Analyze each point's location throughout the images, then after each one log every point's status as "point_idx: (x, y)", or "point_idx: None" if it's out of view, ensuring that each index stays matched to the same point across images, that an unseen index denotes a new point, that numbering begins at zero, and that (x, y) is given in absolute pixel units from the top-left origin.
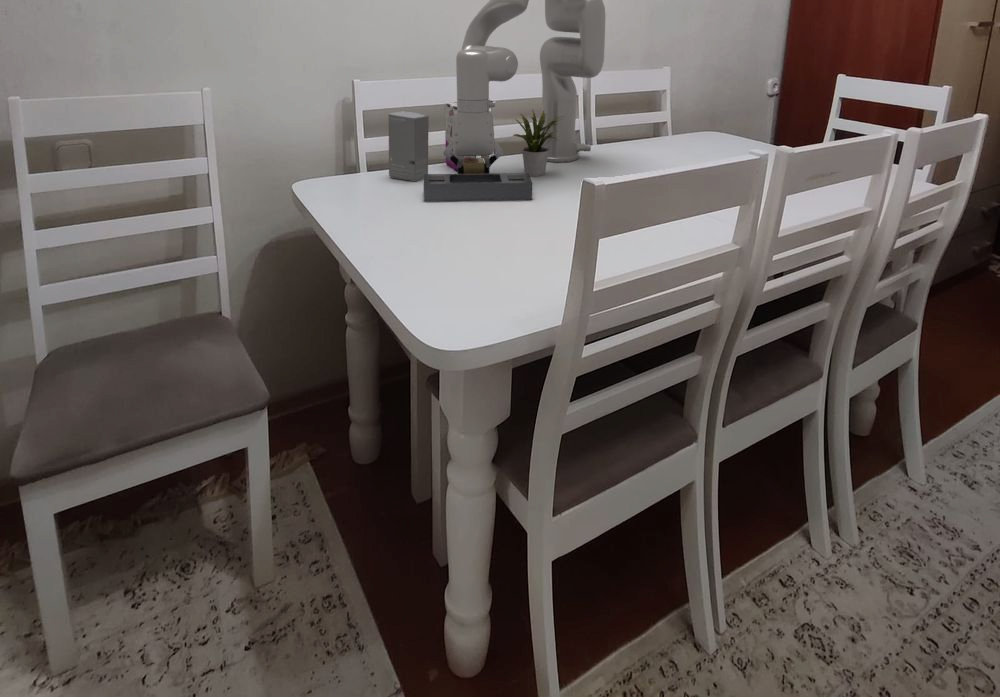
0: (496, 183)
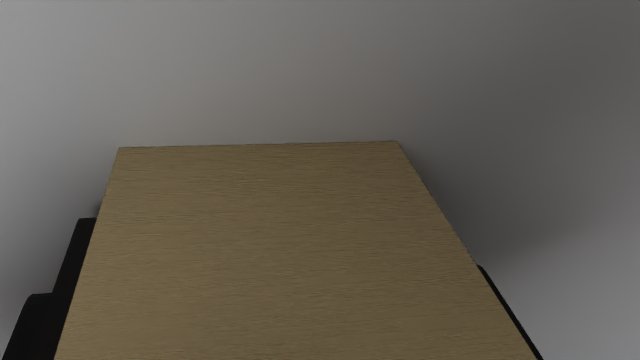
0: None
